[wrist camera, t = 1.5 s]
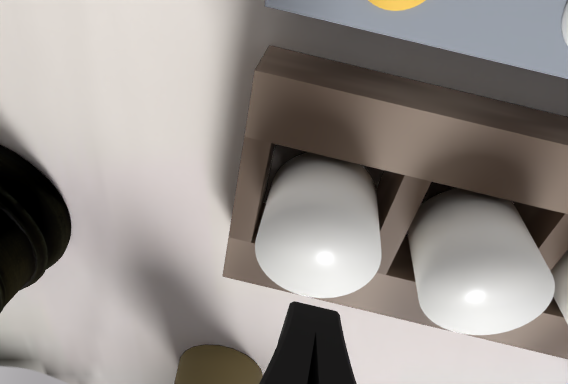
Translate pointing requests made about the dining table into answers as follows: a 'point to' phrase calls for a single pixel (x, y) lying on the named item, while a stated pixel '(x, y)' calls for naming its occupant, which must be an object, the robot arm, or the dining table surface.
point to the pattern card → (459, 26)
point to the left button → (320, 227)
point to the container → (28, 224)
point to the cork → (216, 366)
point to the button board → (404, 169)
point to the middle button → (477, 264)
